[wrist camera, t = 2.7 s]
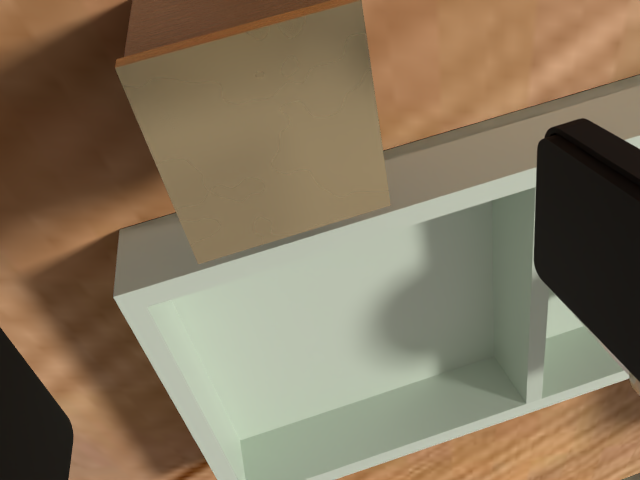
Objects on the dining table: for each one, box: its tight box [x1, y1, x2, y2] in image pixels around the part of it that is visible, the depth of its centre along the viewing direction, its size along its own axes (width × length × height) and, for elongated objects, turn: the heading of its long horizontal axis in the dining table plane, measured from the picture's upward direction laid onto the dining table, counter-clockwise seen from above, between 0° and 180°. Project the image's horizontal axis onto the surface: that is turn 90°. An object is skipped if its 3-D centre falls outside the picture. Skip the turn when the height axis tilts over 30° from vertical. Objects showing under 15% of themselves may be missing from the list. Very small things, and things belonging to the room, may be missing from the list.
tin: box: [115, 0, 391, 264], centre depth 16 cm, size 5×5×7 cm
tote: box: [113, 75, 640, 480], centre depth 25 cm, size 24×14×4 cm, turn 102°
